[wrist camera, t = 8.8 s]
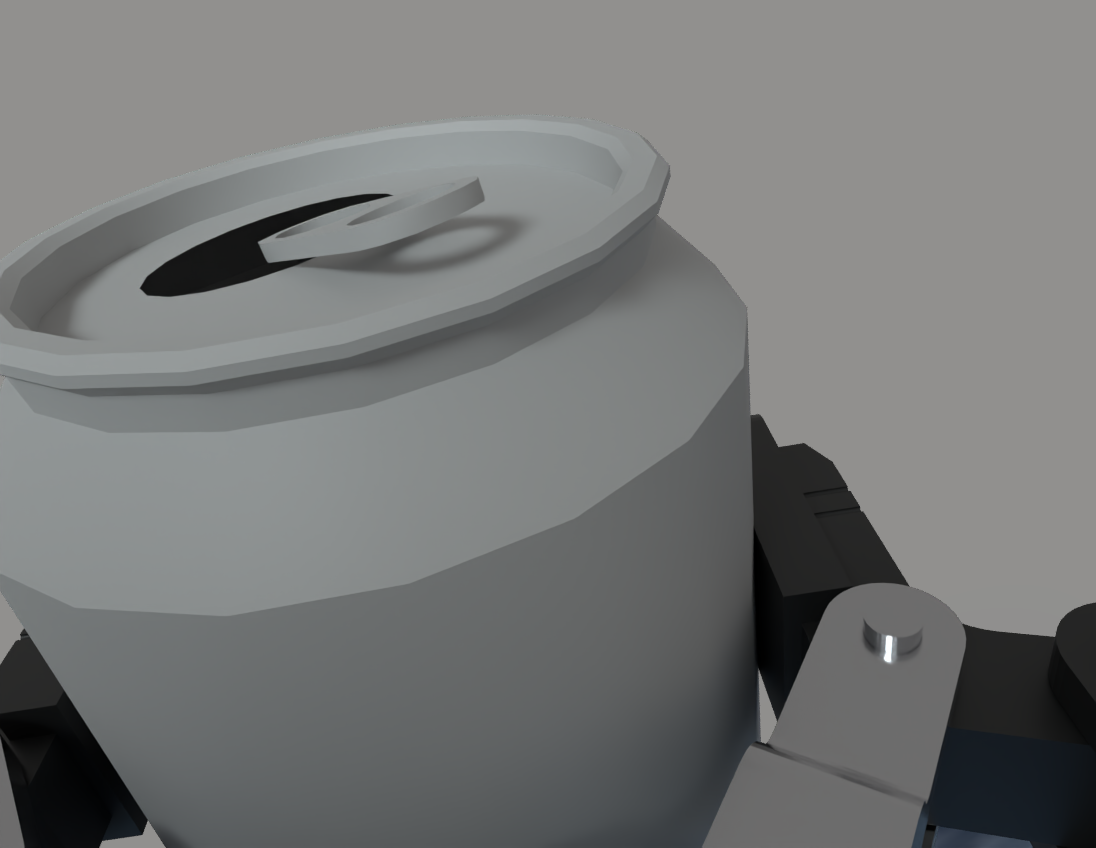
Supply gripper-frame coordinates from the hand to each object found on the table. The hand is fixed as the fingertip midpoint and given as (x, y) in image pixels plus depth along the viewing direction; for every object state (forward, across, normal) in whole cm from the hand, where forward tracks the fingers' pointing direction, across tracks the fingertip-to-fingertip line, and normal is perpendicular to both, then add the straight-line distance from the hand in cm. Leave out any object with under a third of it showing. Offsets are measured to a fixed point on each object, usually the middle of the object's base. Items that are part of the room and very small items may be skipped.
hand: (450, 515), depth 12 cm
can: (-2, 0, +7) cm, 7 cm away
